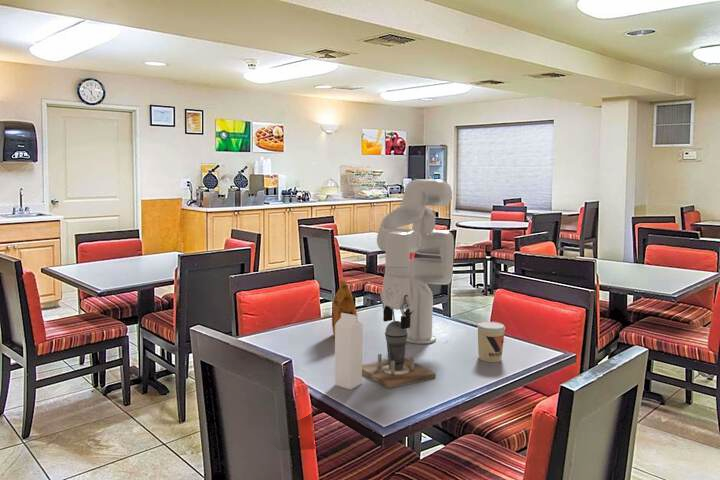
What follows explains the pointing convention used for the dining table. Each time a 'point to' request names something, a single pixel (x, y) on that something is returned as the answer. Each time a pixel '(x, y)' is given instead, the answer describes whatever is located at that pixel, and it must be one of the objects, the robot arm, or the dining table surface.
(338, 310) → the coffee package
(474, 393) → the dining table surface
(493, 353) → the coffee cup
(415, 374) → the cup stand
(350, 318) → the milk
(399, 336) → the beverage cup
